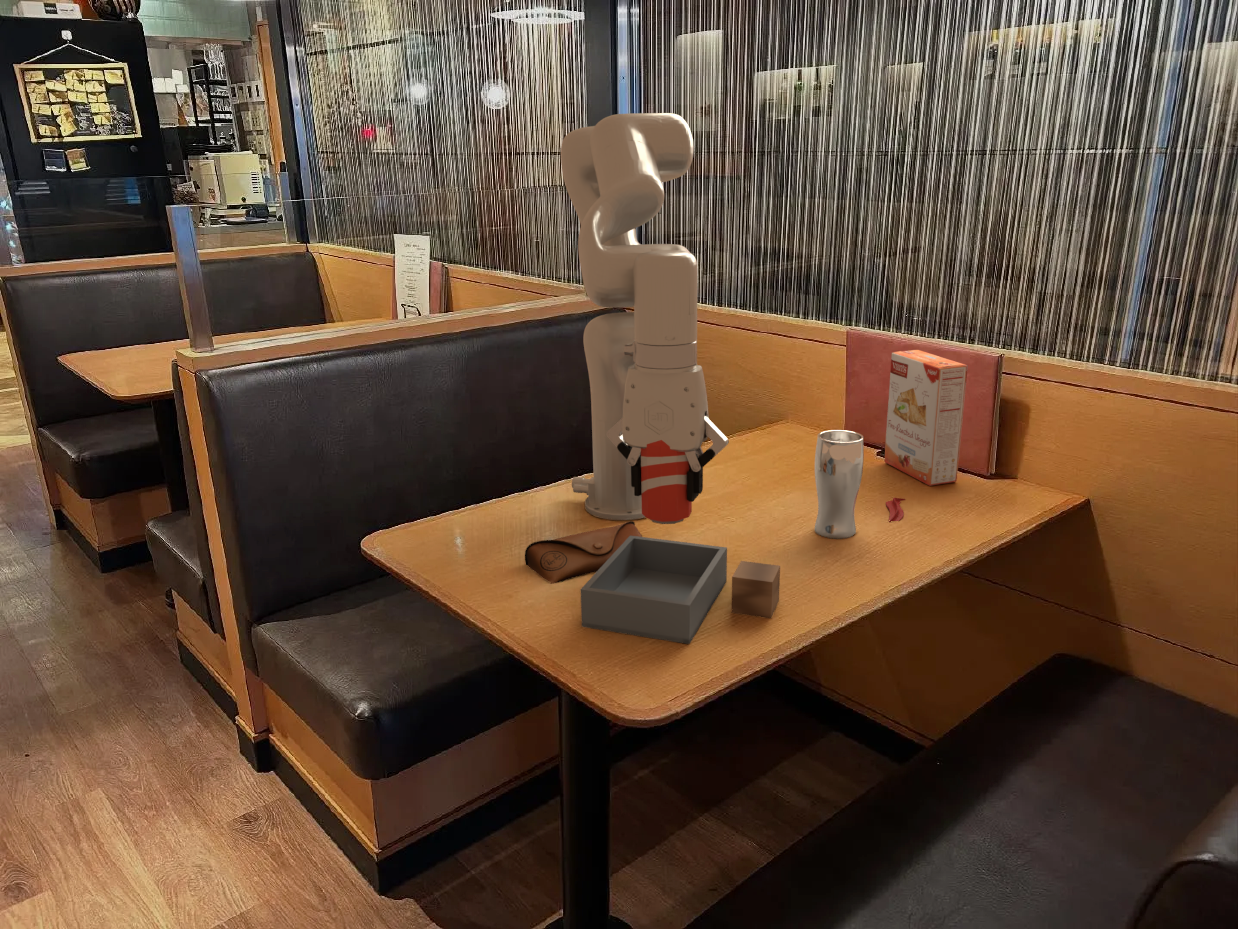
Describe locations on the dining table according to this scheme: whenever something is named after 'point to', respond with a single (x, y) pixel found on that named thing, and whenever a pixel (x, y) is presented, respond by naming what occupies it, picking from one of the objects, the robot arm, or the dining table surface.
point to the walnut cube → (755, 589)
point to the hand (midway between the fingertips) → (666, 494)
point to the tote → (655, 589)
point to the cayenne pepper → (895, 509)
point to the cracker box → (925, 416)
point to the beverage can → (664, 484)
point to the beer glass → (837, 481)
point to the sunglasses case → (577, 552)
